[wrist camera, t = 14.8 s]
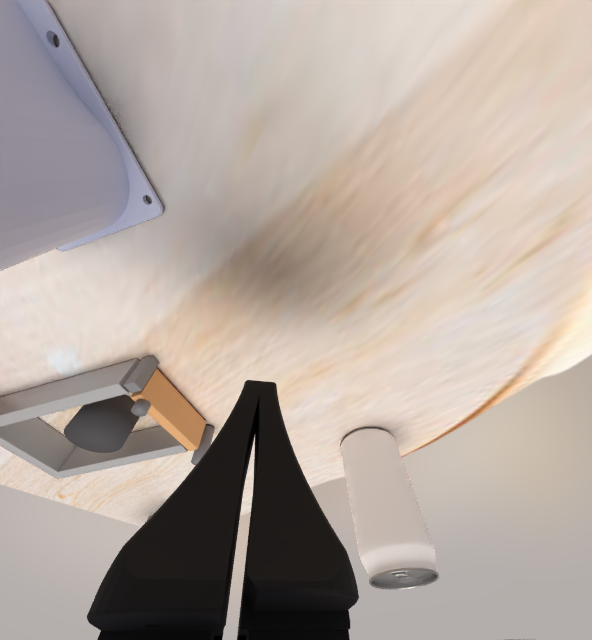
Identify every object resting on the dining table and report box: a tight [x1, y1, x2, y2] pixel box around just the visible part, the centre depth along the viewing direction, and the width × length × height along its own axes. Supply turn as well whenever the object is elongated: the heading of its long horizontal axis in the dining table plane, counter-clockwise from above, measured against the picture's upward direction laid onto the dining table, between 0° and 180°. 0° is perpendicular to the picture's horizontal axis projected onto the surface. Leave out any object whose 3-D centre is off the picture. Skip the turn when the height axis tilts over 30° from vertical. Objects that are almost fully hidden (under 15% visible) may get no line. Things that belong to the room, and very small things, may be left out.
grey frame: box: [0, 355, 188, 479], centre depth 25 cm, size 10×18×3 cm, turn 108°
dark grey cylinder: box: [64, 395, 140, 453], centre depth 25 cm, size 5×5×4 cm
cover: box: [131, 369, 214, 465], centre depth 24 cm, size 10×1×4 cm, turn 20°
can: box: [341, 427, 439, 589], centre depth 26 cm, size 6×6×12 cm
